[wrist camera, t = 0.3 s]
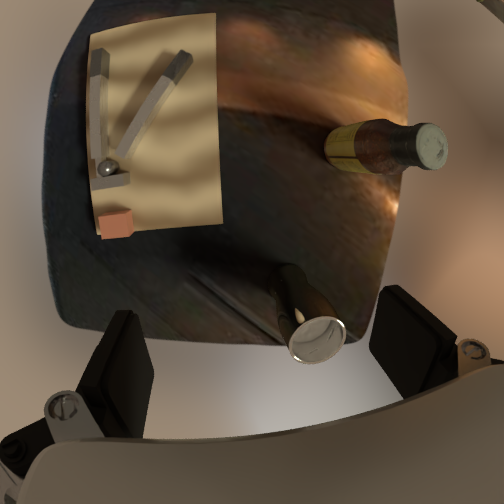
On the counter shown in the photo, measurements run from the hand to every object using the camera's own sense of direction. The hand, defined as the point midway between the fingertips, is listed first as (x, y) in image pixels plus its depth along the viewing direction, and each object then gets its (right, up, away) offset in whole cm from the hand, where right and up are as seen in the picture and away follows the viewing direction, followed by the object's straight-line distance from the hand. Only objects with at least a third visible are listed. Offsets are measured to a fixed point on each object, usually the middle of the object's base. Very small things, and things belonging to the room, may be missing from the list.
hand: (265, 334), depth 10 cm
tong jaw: (-13, +22, +21) cm, 32 cm away
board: (-14, +21, +22) cm, 33 cm away
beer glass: (+5, -1, +33) cm, 33 cm away
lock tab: (-18, +7, +25) cm, 32 cm away
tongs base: (-19, +21, +20) cm, 35 cm away
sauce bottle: (+12, +18, +27) cm, 34 cm away
